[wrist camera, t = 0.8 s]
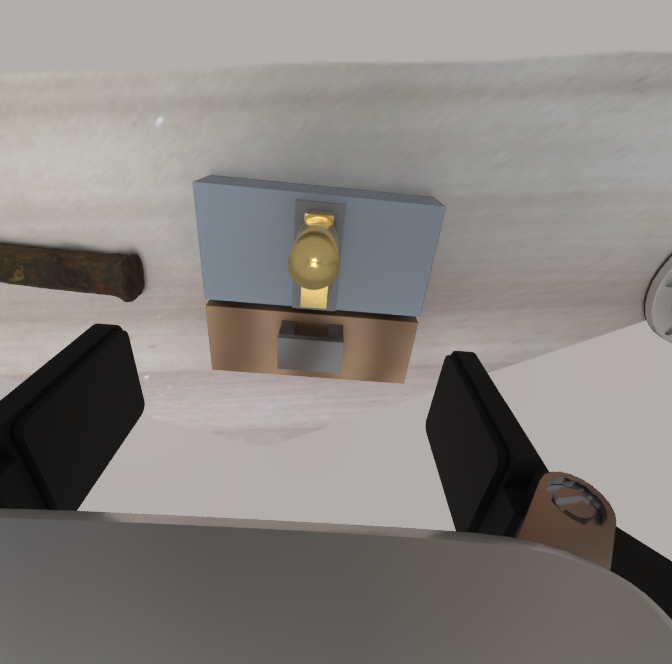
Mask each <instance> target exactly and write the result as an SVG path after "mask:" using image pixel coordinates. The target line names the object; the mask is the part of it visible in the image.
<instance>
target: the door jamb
mask: <svg viewBox="0 0 672 664" xmlns="http://www.w3.org/2000/svg"><path fill="white" fill-rule="evenodd" d="M206 314H207V323H208V333H209V343H210V352H211V362H212V370H226V371H239V372H253V373H267V374H280V375H294V376H308V377H321V378H335V379H349V380H362V381H376V382H390V383H403V384H404V380H405V376H406V372H407V368H408V363H409V359H410V355H411V351H412V347H413V342H414V338H415V334H416V330H417V326H418V321H417V319H416V317H415V316H405V315H392V314H380V313H368V312H356V311H344V310H335V311H324V310H312V309H300V308H292V306H283V305H271V304H259V303H247V302H235V301H223V300H211V299H210V300H209V302H208V303H207V304H206Z"/></svg>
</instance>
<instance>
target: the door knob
mask: <svg viewBox="0 0 672 664" xmlns="http://www.w3.org/2000/svg"><path fill="white" fill-rule="evenodd" d="M338 269H339V254H338V232H337V229H336V227H335V225H334V212H329V211H318V210H308V209H306V211H305V216H304V222H303V223H302V224H301V226H300V228H299V231H298V233H297V236H296V239H295V242H294V244H293V247H292V250H291V253H290V255H289V258H288V271H289V274H290V276H291V278H292V279H293V280H294V282H295V283H296V284H298V285H299V286H301V303H300V307H309V308H321V309H326V305H327V293H328V286H329V285H330V284H331V283H332V282H333V281H334V280H335V278H336V276H337V274H338Z"/></svg>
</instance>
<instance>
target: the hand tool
mask: <svg viewBox="0 0 672 664" xmlns="http://www.w3.org/2000/svg"><path fill="white" fill-rule="evenodd" d="M143 274H144V273H143V267H142V263H141V261H140V258H139V257H138V256H137V255H133V254H132V255H130V256H127V255H126V256H121V255H115V254H110V255H108V256H105V255H97V254H90V253H86V252H77V251H68V252H66V251H58V250H56V249H41V248H31V247H21V246H13V245H3V244H0V282H4V283H8V284H15V285H24V286H32V287H39V288H48V289H55V290H65V291H75V292H83V293H96V294H103V295H104V294H105V295H112V296H116V297H119V298H121V299H122V300H123V301H125V302H132V301H134V300H135V299H136V298H137V297H138V296H139V295H141V293H142V289H143V287H144V278H143V276H144V275H143Z"/></svg>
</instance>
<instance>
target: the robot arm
mask: <svg viewBox="0 0 672 664" xmlns="http://www.w3.org/2000/svg"><path fill="white" fill-rule="evenodd" d="M645 315H646V319H647V322H648V324H649V326H650V327H651V329H652V330H653V331H654V332H655V333H657V334H658V335H659V336H660V337H662V338H663V339H665V340H667V341H669V342H670V343H672V256H671V258H670V259H669V260H668V261H667V262H666V263H665V265H664V266H663V267H662V268H661V269H660V271H659V273H658V274H657V276H656V277H655V279H654V280H653V282H652V285H651V287H650V289H649V292H648V294H647V299H646V303H645ZM144 404H145V403H144V398H143V394H142V390H141V385H140V381H139V377H138V373H137V369H136V364H135V360H134V356H133V352H132V348H131V344H130V339H129V335H128V333H127V332H126V331H123V330H122V328H121V327H120V326H118V325H110V324H94V325H93V326H91V327H90V328H89V329H88V330H87V331H85V332H84V333H83V334H82V335H80V336H79V337H78V338H77V339H75V340H74V341H73V342H72V343H71V344H69V345H68V346H67V347H66V348H64V349H63V350H62V351H61V352H59V353H58V354H57V355H56V356H55V357H53V358H52V359H51V360H50V361H48V362H47V363H46V364H45V365H43V366H42V367H41V368H40V369H39V370H37V371H36V372H35V373H34V374H32V375H31V376H30V377H29V378H27V379H26V380H25V381H24V382H23V383H21V384H20V385H19V386H18V387H17V388H15V389H14V390H13V391H12V392H10V393H9V394H8V395H7V396H5V397H4V398H3V399H2V400H0V664H672V561H670V560H669V559H667V558H665V557H664V556H662V555H661V554H659V553H658V552H656V551H654V550H653V549H651V548H650V547H648V546H646V545H645V544H643V543H642V542H640V541H638V540H637V539H635V538H634V537H632V536H630V535H629V534H627V533H626V532H624V531H622V530H621V529H619V528H618V527H616V517H615V513H614V511H613V509H612V507H611V505H610V503H609V502H608V501H607V500H606V498H605V497H604V496H603V495H602V494H601V493H600V492H599V491H598V490H596V489H595V488H594V487H593V486H592V485H590V484H588V483H587V482H585V481H584V480H582V479H580V478H578V477H575V476H573V475H571V474H567V473H563V472H549V471H548V469H547V468H546V466H545V465H544V463H543V461H542V460H541V458H540V456H539V455H538V453H537V452H536V450H535V448H534V447H533V445H532V444H531V442H530V440H529V439H528V437H527V436H526V434H525V432H524V431H523V429H522V428H521V426H520V424H519V423H518V421H517V419H516V418H515V417H514V415H513V413H512V411H511V410H510V408H509V407H508V405H507V404H506V402H505V401H504V399H503V397H502V396H501V395H500V393H499V391H498V389H497V388H496V386H495V385H494V383H493V382H492V380H491V378H490V377H489V375H488V373H487V372H486V370H485V369H484V367H483V365H482V364H481V362H480V361H479V359H478V357H477V356H476V354H475V353H473V352H463V351H454V352H453V353H452V354H451V355H447V356H446V357H445V360H444V363H443V366H442V370H441V373H440V376H439V380H438V383H437V386H436V390H435V393H434V397H433V400H432V403H431V407H430V410H429V413H428V417H427V420H426V433H427V436H428V440H429V443H430V446H431V450H432V453H433V456H434V459H435V463H436V466H437V469H438V472H439V476H440V479H441V483H442V486H443V489H444V493H445V496H446V499H447V503H448V506H449V509H450V513H451V516H452V519H453V523H454V526H455V529H456V531H442V530H429V529H415V528H398V527H381V526H363V525H346V524H329V523H311V522H292V521H273V520H254V519H253V520H252V519H234V518H214V517H195V516H175V515H152V514H131V513H110V512H108V513H107V512H88V511H87V512H86V511H77V509H78V508H79V507H80V505H81V504H82V502H83V501H84V499H85V498H86V496H87V495H88V493H89V492H90V490H91V489H92V487H93V486H94V484H95V483H96V481H97V480H98V478H99V477H100V475H101V474H102V473H103V471H104V470H105V468H106V466H107V465H108V464H109V462H110V460H111V459H112V458H113V456H114V455H115V453H116V452H117V450H118V449H119V447H120V446H121V444H122V443H123V441H124V440H125V438H126V437H127V436H128V434H129V433H130V431H131V429H132V428H133V427H134V425H135V424H136V422H137V421H138V419H139V418H140V416H141V415H142V413H143V410H144Z"/></svg>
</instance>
